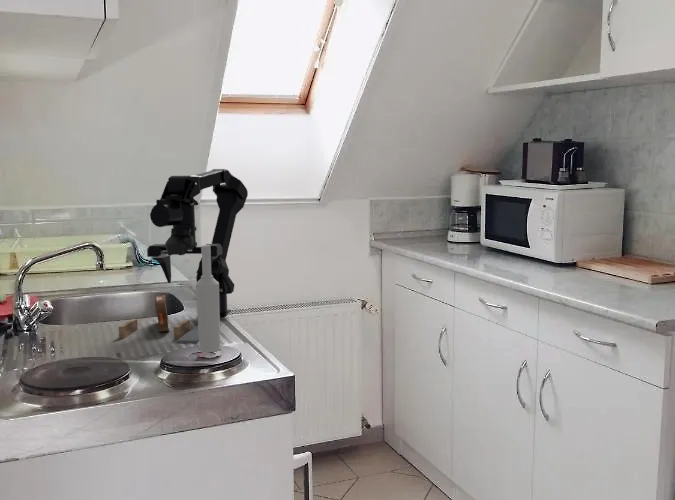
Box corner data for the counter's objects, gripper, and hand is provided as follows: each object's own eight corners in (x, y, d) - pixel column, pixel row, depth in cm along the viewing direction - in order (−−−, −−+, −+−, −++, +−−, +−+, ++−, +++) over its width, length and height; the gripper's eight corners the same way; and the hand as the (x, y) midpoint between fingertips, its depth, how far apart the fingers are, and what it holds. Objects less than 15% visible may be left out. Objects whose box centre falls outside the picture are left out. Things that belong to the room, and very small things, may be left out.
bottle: (226, 353, 159) (221, 244, 156) (214, 359, 154) (210, 247, 151) (206, 351, 160) (201, 244, 157) (194, 357, 156) (189, 246, 153)
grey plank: (197, 327, 185) (197, 325, 185) (215, 327, 184) (215, 325, 184) (177, 342, 169) (177, 340, 169) (197, 342, 169) (197, 340, 169)
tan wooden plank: (133, 329, 183) (132, 318, 183) (190, 330, 182) (189, 319, 181) (119, 338, 174) (118, 326, 174) (178, 339, 173) (178, 327, 172)
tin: (169, 334, 178) (167, 302, 177) (156, 335, 177) (154, 303, 176) (168, 322, 192) (167, 292, 191) (156, 323, 191) (155, 292, 190)
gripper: (137, 226, 175) (140, 288, 177) (209, 226, 173) (212, 288, 175) (153, 223, 186) (156, 280, 188) (221, 222, 184) (224, 281, 186)
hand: (186, 282), depth 184 cm, fingers open, 9 cm apart
